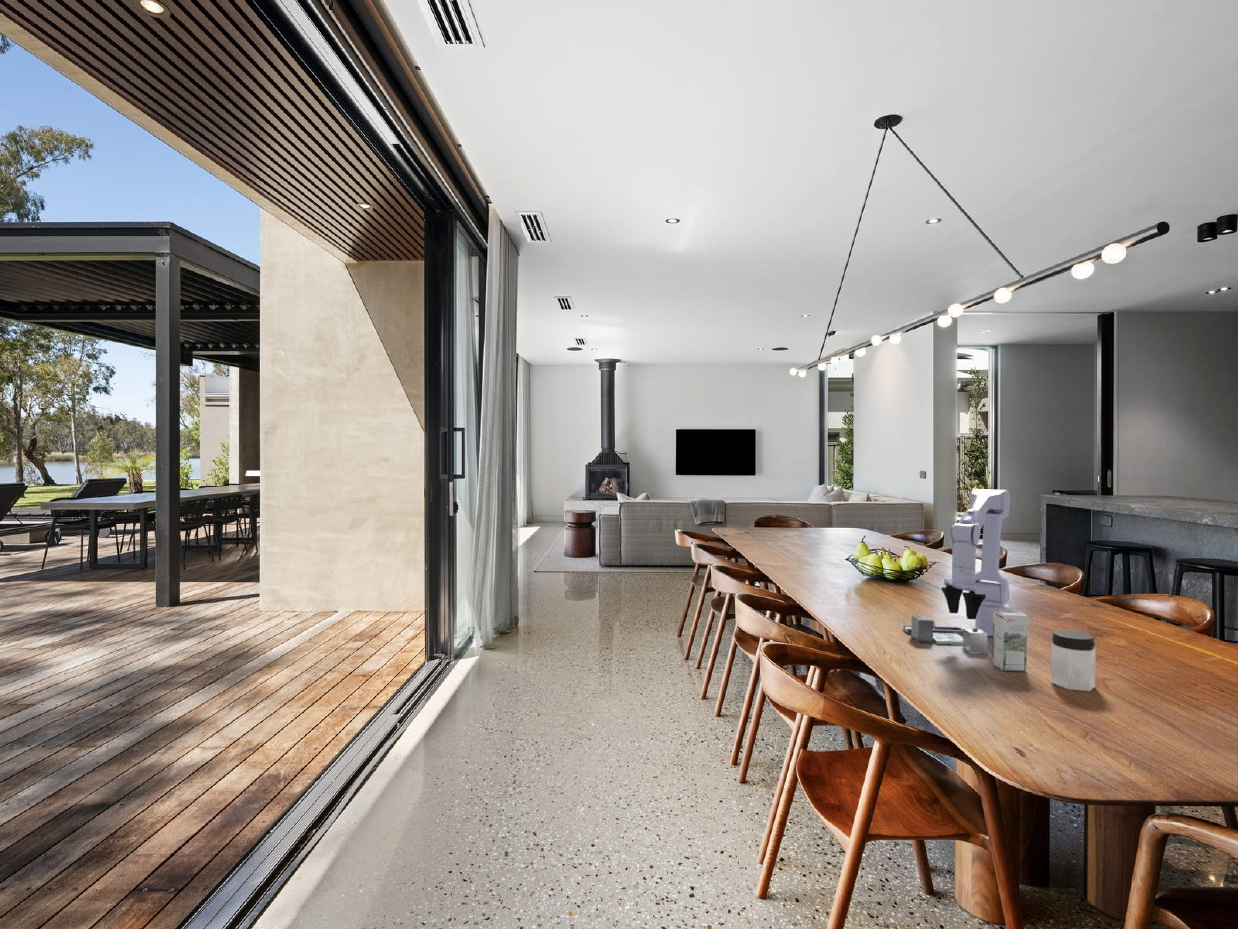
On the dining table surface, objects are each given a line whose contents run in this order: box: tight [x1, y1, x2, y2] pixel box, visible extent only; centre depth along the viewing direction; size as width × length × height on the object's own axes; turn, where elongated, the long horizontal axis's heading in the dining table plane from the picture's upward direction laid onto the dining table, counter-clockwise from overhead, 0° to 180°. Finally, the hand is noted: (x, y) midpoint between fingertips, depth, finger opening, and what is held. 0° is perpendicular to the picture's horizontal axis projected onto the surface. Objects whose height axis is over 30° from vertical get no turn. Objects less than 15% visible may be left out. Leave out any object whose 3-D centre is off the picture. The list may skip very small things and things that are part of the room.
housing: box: [962, 628, 988, 654], centre depth 179 cm, size 4×4×6 cm
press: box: [902, 614, 964, 646], centre depth 192 cm, size 17×15×6 cm
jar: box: [1050, 629, 1096, 692], centre depth 152 cm, size 9×8×12 cm
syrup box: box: [991, 609, 1029, 673], centre depth 164 cm, size 6×6×14 cm
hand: (962, 616), depth 179 cm, fingers open, 7 cm apart
